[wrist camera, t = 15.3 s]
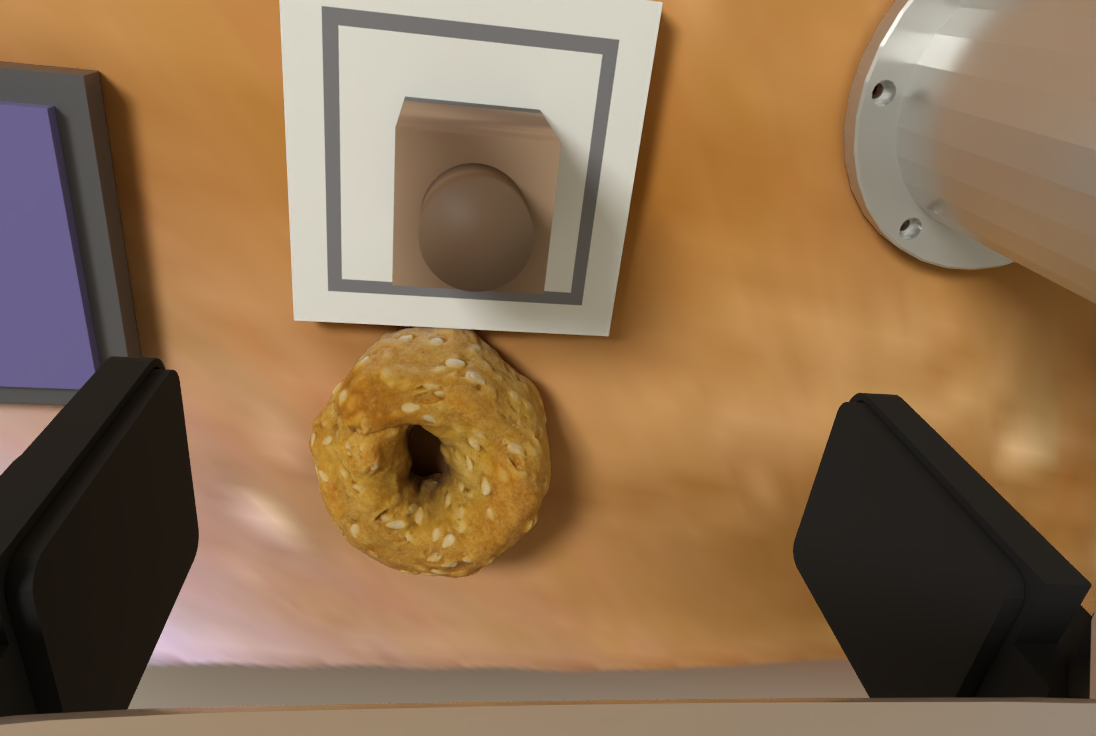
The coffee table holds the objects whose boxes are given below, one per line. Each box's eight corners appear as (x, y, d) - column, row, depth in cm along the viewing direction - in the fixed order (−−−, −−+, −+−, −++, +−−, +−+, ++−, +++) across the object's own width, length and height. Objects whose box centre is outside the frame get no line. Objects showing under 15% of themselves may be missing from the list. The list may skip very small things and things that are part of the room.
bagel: (563, 320, 31) (579, 377, 27) (532, 529, 36) (542, 605, 32) (311, 303, 30) (287, 360, 25) (317, 524, 35) (297, 602, 30)
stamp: (539, 109, 26) (572, 158, 19) (526, 237, 28) (551, 321, 21) (405, 96, 25) (390, 143, 18) (401, 228, 27) (387, 312, 20)
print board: (654, 0, 26) (662, 2, 25) (603, 323, 31) (608, 336, 30) (284, -45, 24) (277, -45, 23) (299, 307, 29) (293, 320, 28)
